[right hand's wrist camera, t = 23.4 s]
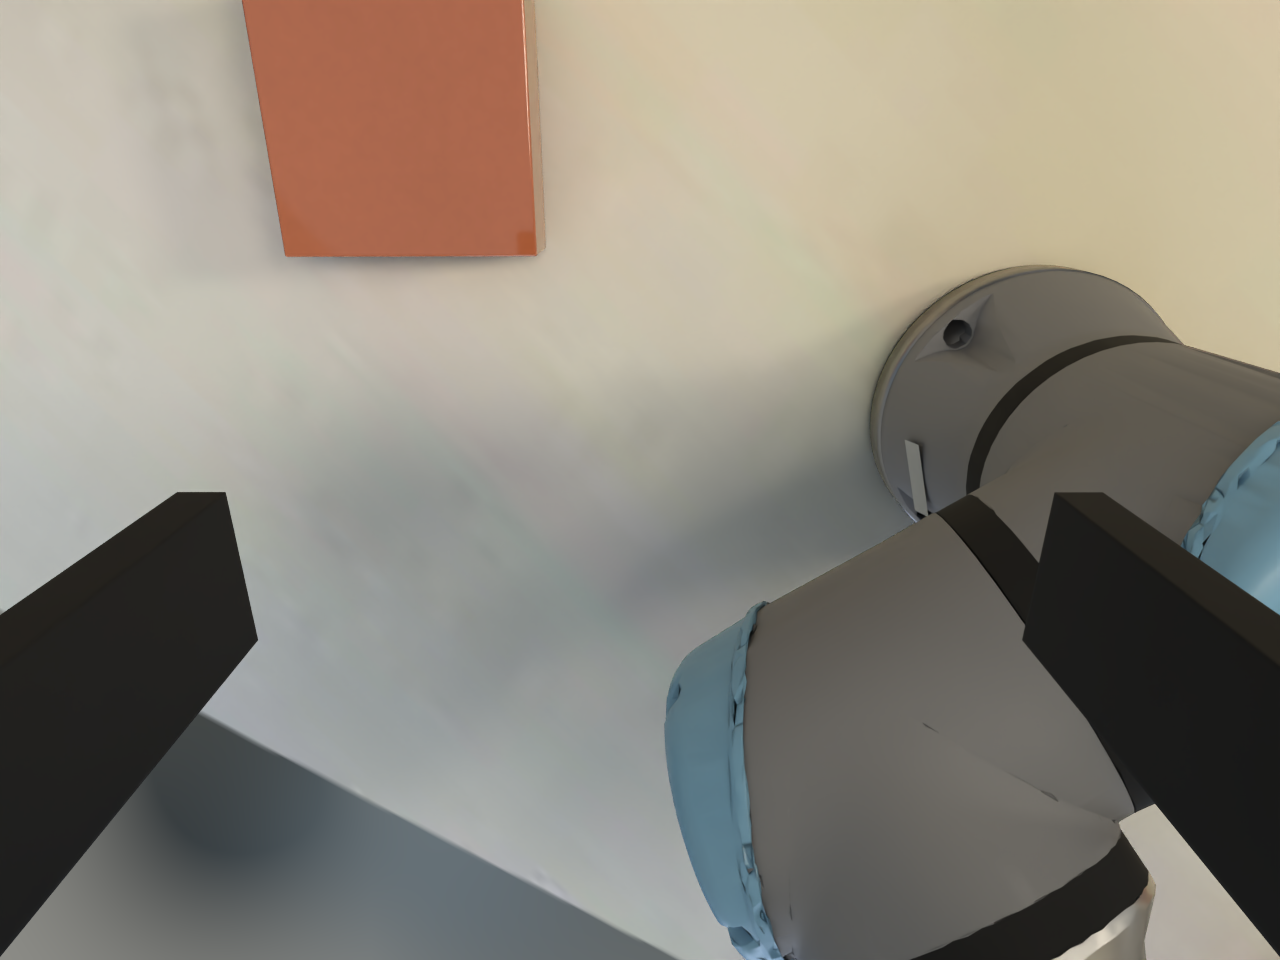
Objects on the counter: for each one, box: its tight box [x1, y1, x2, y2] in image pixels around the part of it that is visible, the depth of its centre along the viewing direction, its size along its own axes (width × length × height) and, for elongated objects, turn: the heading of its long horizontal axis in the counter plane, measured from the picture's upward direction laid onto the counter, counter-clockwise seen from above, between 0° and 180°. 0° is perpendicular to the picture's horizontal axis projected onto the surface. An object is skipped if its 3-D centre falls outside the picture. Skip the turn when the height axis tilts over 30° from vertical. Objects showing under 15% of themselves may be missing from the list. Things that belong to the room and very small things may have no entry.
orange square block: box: [242, 0, 546, 257], centre depth 34 cm, size 11×11×5 cm
